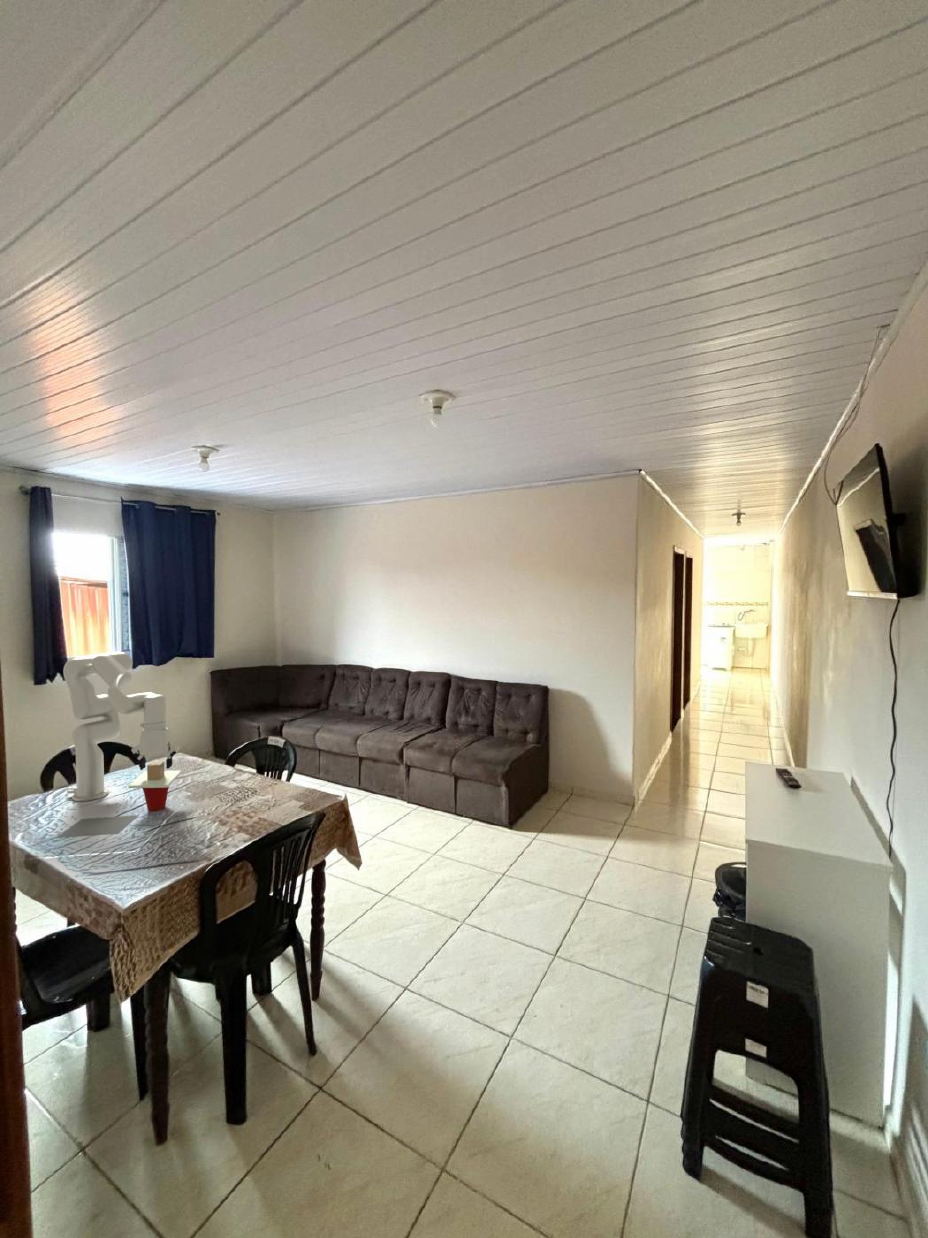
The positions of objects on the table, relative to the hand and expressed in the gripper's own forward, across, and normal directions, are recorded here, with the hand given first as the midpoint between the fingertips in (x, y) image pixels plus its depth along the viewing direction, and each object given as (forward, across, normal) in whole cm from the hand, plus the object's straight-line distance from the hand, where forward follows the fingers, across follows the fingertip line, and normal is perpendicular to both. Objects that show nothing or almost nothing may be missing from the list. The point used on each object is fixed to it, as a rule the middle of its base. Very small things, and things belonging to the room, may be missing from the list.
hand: (155, 768), depth 205 cm
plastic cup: (+17, 0, 0) cm, 17 cm away
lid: (+5, 0, 0) cm, 5 cm away
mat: (+17, -14, -14) cm, 26 cm away
